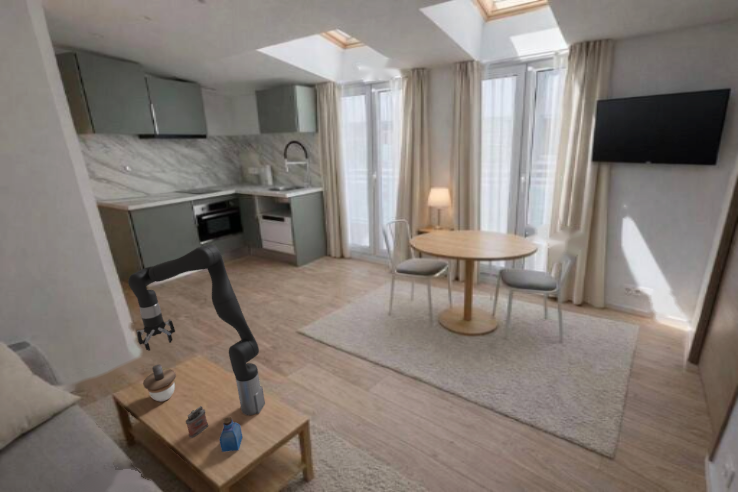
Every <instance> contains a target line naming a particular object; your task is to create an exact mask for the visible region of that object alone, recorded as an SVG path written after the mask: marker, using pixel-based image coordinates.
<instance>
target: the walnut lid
mask: <svg viewBox="0 0 738 492" xmlns="http://www.w3.org/2000/svg"><path fill="white" fill-rule="evenodd" d="M151 369H152V373H150V374H149V375H147V376H146V377H145V378H144V380H143V383H142V384H143V387H144V389H147V390H148V389H150V390H153V389H159V388H162V387H164V386H166V385H168V384H170V383H171V382H172V381H173V380H174V381H175V379H176V377H177V375H176V372H175V370H174V369H169V368H168V369H163V367H162V364H159V363H158V364H156V365H154V366H153V367H151Z"/></svg>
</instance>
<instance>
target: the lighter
mask: <svg viewBox="0 0 738 492" xmlns="http://www.w3.org/2000/svg"><path fill="white" fill-rule="evenodd" d="M185 424H186V426H187V427H186V428H187V429H188V430H187V431H188V436H189V437H188V438H189V439H193V438H195V437H197V436H198V435H200V434H201V433H202V432H204V431H205V429H207V428H208V427H209V423H208V420H207V415H206V409H204V408H203V406H202V405H200V406H198V407H197V408H196V409H195V410H192V411H190V412H189V414H188V415H187V419H186V420H185Z"/></svg>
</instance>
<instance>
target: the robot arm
mask: <svg viewBox="0 0 738 492" xmlns="http://www.w3.org/2000/svg"><path fill="white" fill-rule="evenodd" d="M203 270H207V271H208V274H209V276H210V279H211V301H212V306H213V308H214V310H215V312H216V315H217V316H218V317H219V319H221V321H223V322H224V323H226V324H227V325H229V326H231V327H232V328H233V329H234V330H236V333H238V335H239V338H240V340H239V341H237V342H235V343H234V344H232V345H231V346H230V347H228V357H229V360H230V365H231V369H232V372H233V374H234V376H235V383H236V388H237V392H238V393H237V395H238V400H239V404H240V409H241V412H242V414H243V415H245V416H252V415H255V414H260V413H261V411H262V409H264V406H265V404H266V400H265V394H264V388H263V385H261V382H260V376H259V375H260V374H259V370H258V369H259V368H258V366H257V365H256V364H254V363H252V362H250V361H251V360H252V359H254V358H256V357H257V356H258V355H259V353H260V348H259V345H258V342H257V340H256V338H255V337H254V334H253V333H252V331H251V329H250V327H249V325H248V323H247V320H246V319H245V318H246V317H245V316H244V314H243V311H242V308H241V306H240V303H239V300H238V298H237V296H236V293H235V291H234V288H233V287H232V283H231V280H230V278H229V275H228V272H227V271H226V267H225V262H224V259H223V254H221V251H220V249H219V248H218V246H216V245H214V244H206V245H203V246H202V245H201V246H198V247H196V248H195V249H193V250H191V251H189V252H188V253H186V254H184V255H182V256H180V257H178V258H174V259H170V260H167V261H164V262H162V263H161V262H160V263H158V264H156V265H152V266H148V267H144V268H142V269H139V270H138V271H136V272H134V273H132V274H130V275H129V277H128V280H127V282H128V286H129V289H130V290H131V291H132V293H133V294H134V296H135V297H136V298H137V302H138V307H139V312H140V317H141V321H142V323H143V329H140V330H139V329H137V330H136V337H137V342H138V344H139V345H144V347H145V350H146V351H148V352H150V351H151V348H150V344H149V341H150V340H151V338H152V337H154V336H158V335H161V334H162V333H163V334H165V335H166V337H167V340H168V343H169V344H171V343H172V341H173V337H172V334H174V333H176V330H175V326H174V323H173V321H172V319H170V318H169V319H168V320H166V321H164V318H163V314H162V309H161V306H160V303H159V301H158V297H157V292H156V291H155V290H154V289H148V288H147V286H149V285H151V284H153V283H155V282H163V281H166V280H169V279H172V278H175V277H176V276H178V275H181V274H184V273H188V272H192V271H193V272H194V271H203ZM166 325H167V326H168V327H169V328H170V330H168V329H167V328H165V327H166ZM144 333H145V336H144V339H143V337H142V336H143V334H144Z"/></svg>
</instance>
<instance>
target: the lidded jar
mask: <svg viewBox="0 0 738 492" xmlns="http://www.w3.org/2000/svg"><path fill="white" fill-rule="evenodd" d="M175 386H176V384H175V379H174V380H173V381H172V382H171V383H170V384H168V385H166V386H164V387H162V388H159V389H153V390H150V389H147V391H148V393H149V396H150V398H151V399H153V400H154V401H157V402H165V401H167V400H169V399H170V398H171V397H172V395H173V394H174V392H175V389H176V387H175Z"/></svg>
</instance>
